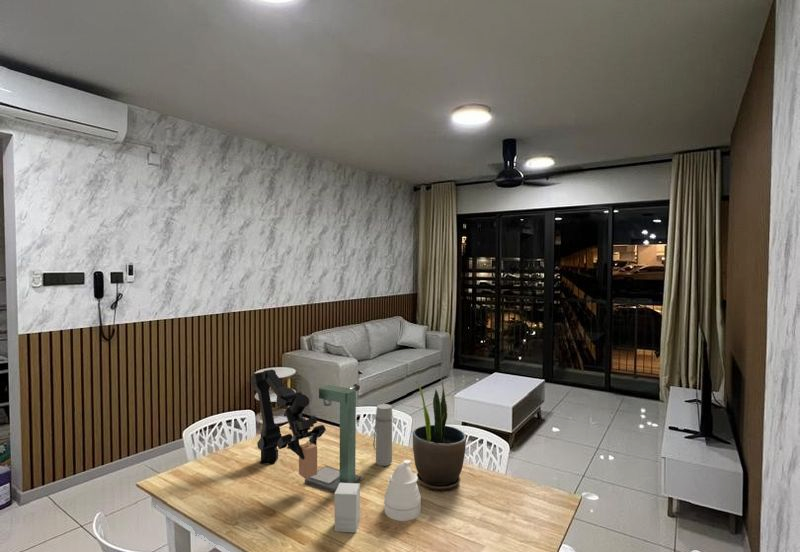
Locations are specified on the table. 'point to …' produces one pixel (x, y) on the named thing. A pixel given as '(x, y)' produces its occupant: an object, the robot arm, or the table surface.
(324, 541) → the table surface
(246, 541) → the table surface
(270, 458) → the robot arm
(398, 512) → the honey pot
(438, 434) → the potted plant
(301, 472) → the block
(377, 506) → the table surface
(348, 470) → the arbor press
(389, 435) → the water bottle
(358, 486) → the supplement box
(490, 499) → the table surface
